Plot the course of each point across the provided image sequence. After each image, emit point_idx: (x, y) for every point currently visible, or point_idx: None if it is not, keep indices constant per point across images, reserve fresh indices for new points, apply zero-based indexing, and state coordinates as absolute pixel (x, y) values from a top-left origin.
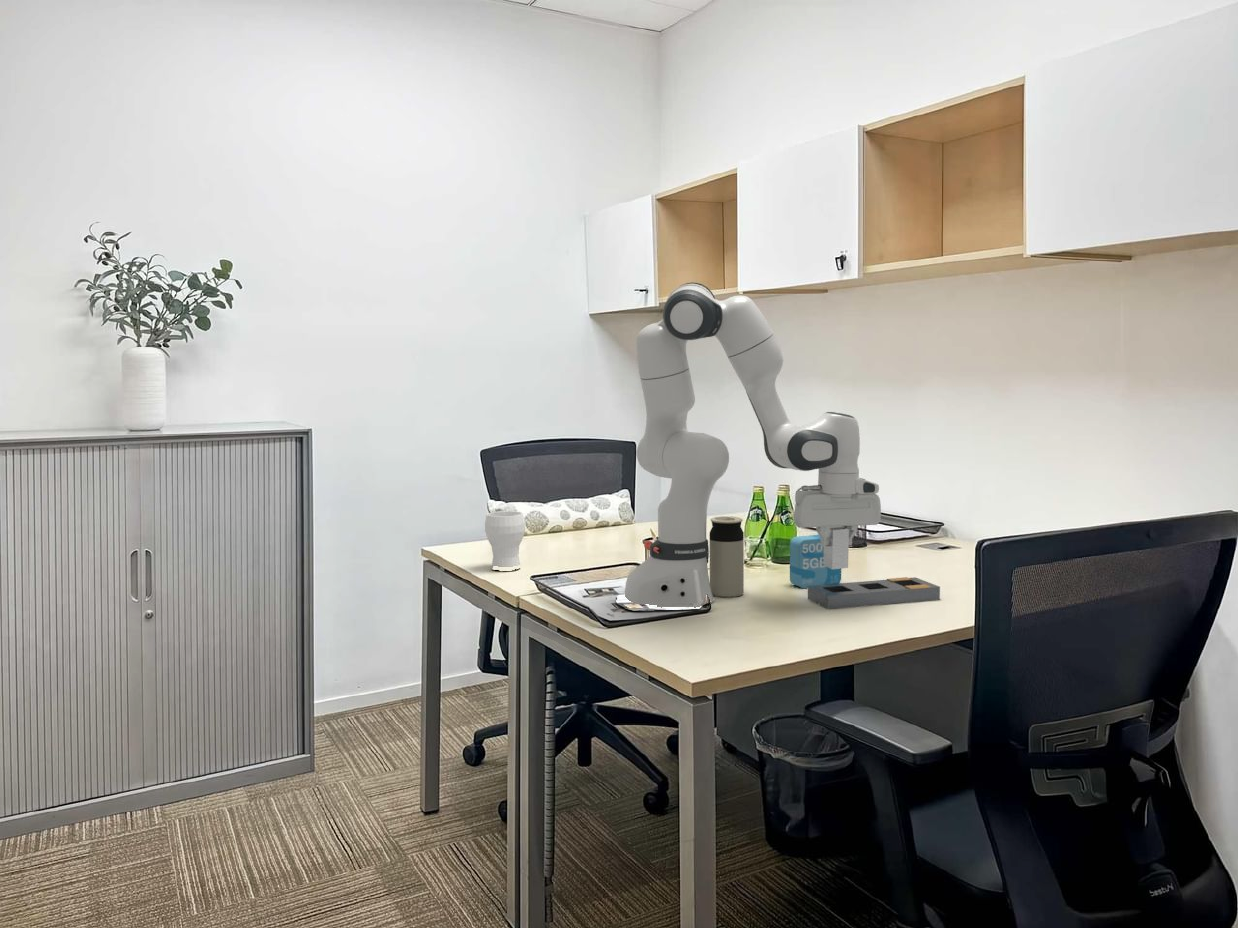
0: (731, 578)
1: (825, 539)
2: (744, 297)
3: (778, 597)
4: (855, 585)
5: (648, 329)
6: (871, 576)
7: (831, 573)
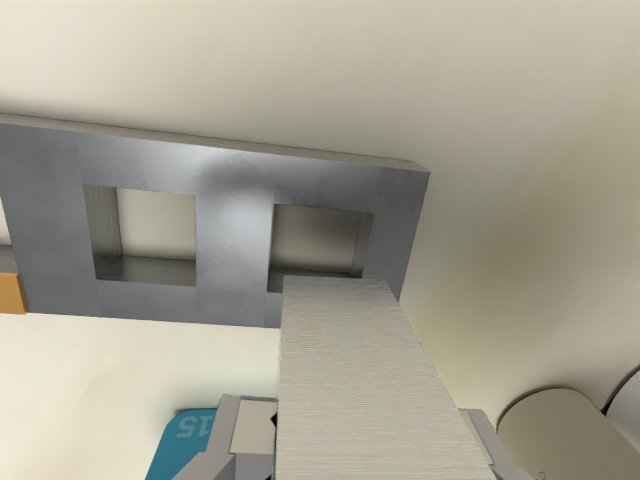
0: (611, 437)
1: (500, 460)
2: None
3: (448, 348)
4: (213, 277)
5: None
6: (25, 454)
7: (200, 444)
